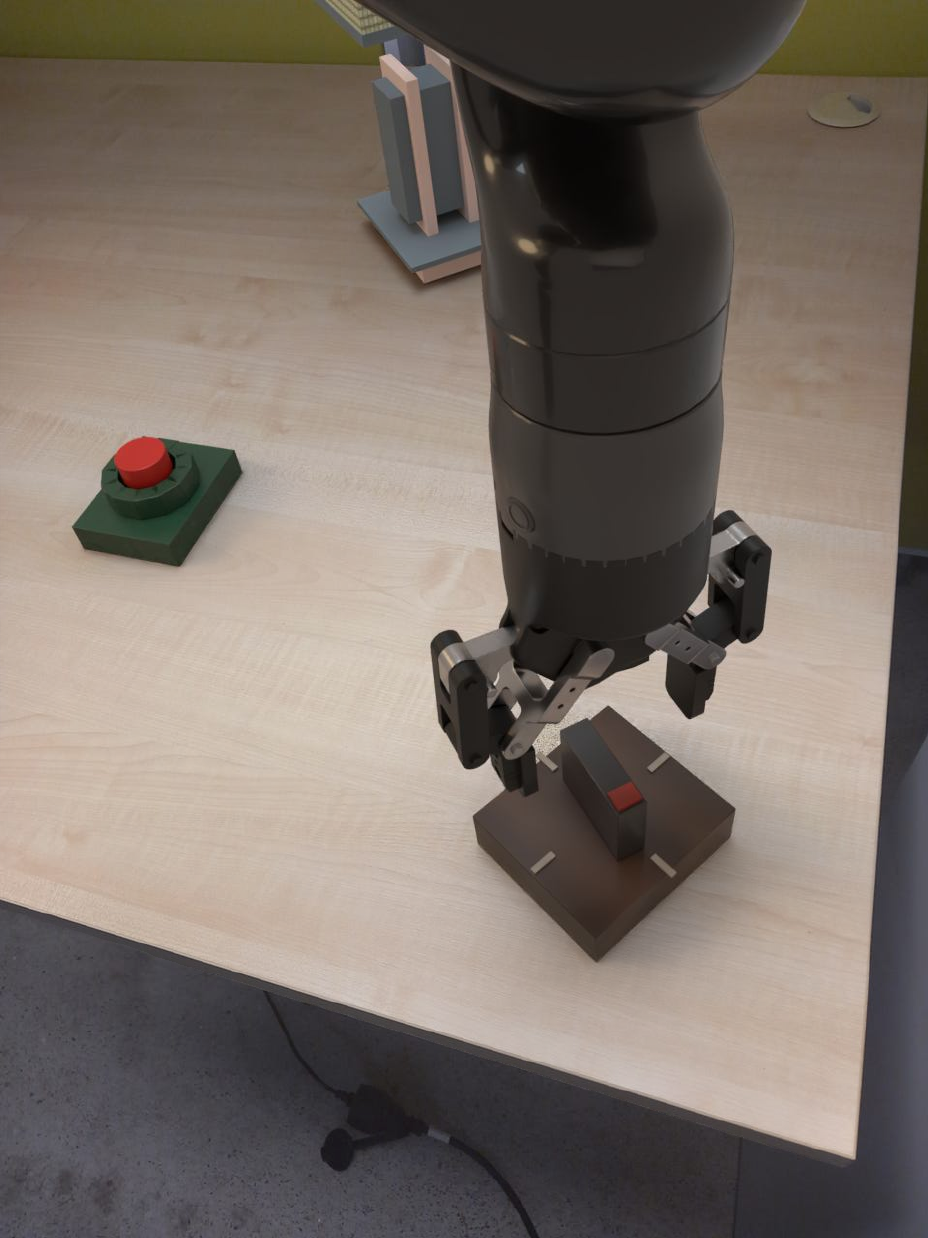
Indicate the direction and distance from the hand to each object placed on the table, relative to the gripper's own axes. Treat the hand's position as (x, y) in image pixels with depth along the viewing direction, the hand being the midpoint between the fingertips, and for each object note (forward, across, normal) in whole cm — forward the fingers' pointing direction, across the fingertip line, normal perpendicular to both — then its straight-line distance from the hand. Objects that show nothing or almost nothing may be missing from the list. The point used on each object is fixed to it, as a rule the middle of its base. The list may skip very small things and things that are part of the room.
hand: (603, 741), depth 47 cm
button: (+6, +15, -39) cm, 42 cm away
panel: (+10, 0, 0) cm, 10 cm away
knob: (+7, 0, 0) cm, 7 cm away
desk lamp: (+10, -21, -61) cm, 65 cm away
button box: (+10, +14, -39) cm, 43 cm away
